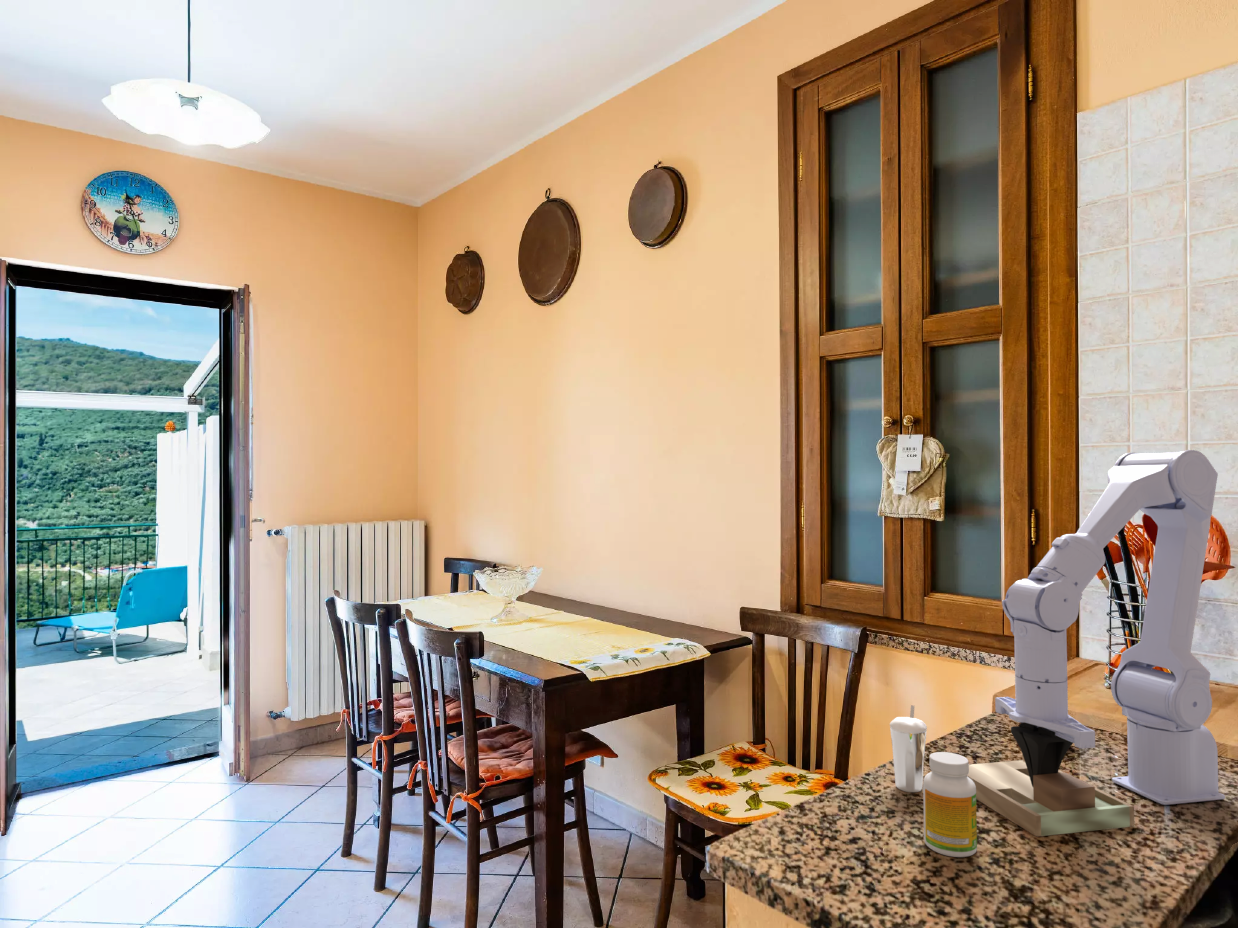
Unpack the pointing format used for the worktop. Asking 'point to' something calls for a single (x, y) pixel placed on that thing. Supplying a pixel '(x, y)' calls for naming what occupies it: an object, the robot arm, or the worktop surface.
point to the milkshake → (908, 751)
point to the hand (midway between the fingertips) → (1042, 787)
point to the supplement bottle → (950, 806)
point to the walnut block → (1063, 792)
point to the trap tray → (1014, 800)
